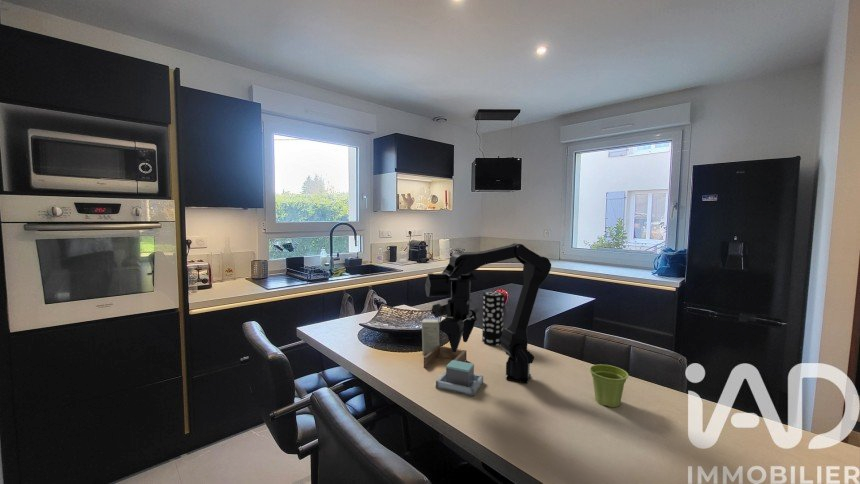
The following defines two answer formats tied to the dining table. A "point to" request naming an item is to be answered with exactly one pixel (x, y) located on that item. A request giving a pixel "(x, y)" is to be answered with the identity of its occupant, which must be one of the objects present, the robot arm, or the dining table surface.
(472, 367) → the teal rectangular block
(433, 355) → the bay
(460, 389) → the tray
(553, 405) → the dining table surface
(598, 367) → the plant pot
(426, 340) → the skincare box
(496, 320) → the spotted tube
